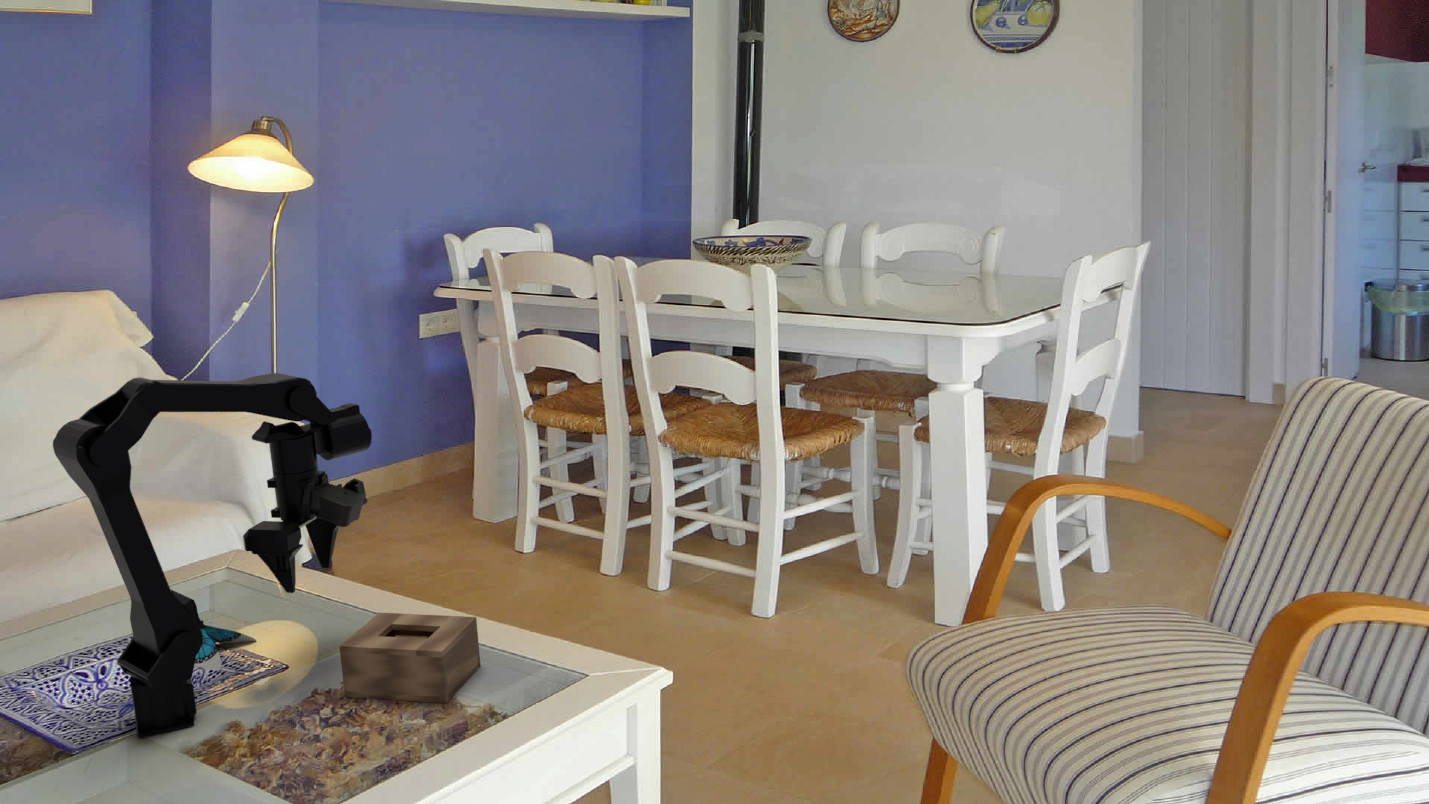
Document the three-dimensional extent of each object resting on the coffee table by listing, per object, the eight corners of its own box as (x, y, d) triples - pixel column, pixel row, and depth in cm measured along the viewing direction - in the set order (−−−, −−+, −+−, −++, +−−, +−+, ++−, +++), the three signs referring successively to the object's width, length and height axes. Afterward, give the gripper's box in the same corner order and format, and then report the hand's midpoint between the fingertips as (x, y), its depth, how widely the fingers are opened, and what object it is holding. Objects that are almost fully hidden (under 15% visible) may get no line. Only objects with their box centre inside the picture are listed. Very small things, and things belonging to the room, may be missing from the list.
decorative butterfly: (183, 615, 181) (243, 600, 179) (199, 656, 182) (258, 642, 180) (141, 643, 171) (204, 628, 169) (158, 686, 172) (220, 672, 170)
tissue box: (345, 696, 161) (339, 646, 159) (384, 660, 171) (379, 612, 170) (446, 703, 158) (441, 651, 156) (480, 665, 168) (476, 617, 167)
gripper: (314, 490, 155) (328, 609, 158) (384, 450, 172) (395, 557, 176) (233, 488, 157) (249, 605, 161) (310, 449, 175) (323, 555, 178)
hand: (308, 579), depth 169 cm, fingers open, 9 cm apart
